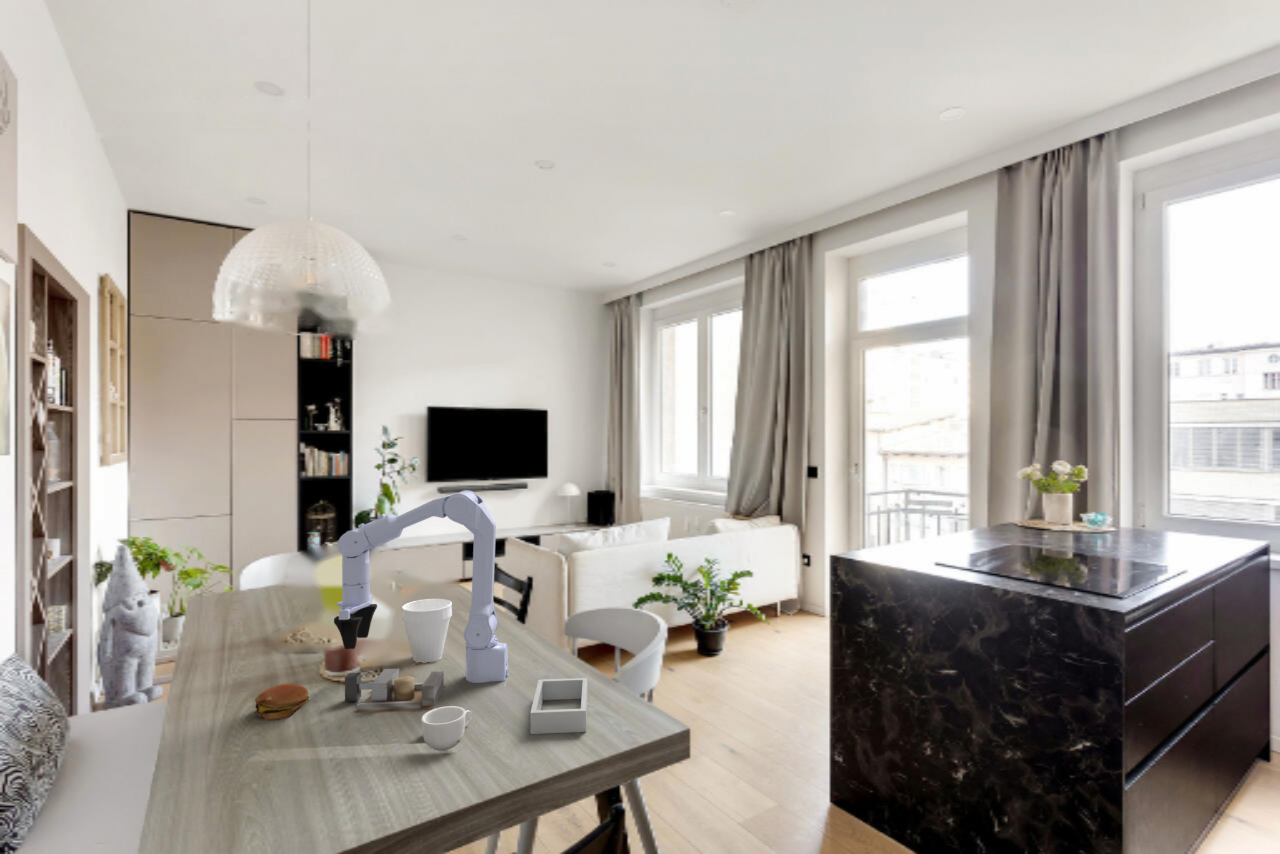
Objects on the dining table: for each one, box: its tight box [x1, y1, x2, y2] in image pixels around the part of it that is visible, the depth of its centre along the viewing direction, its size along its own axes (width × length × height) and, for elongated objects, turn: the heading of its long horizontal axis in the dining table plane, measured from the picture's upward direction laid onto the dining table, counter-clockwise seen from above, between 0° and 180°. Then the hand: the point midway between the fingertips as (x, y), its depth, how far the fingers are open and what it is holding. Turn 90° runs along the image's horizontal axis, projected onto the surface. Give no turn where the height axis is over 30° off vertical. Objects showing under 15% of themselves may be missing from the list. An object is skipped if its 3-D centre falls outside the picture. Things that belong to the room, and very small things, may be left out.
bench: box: [355, 670, 447, 714], centre depth 135 cm, size 15×12×6 cm
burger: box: [254, 683, 310, 721], centre depth 133 cm, size 10×9×5 cm
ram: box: [344, 668, 400, 703], centre depth 134 cm, size 9×8×5 cm
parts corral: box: [529, 677, 589, 735], centre depth 130 cm, size 10×16×4 cm, turn 4°
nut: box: [394, 675, 415, 702], centre depth 135 cm, size 4×4×4 cm
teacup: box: [421, 705, 473, 751], centre depth 119 cm, size 10×8×5 cm
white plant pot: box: [401, 598, 453, 664], centre depth 164 cm, size 12×12×14 cm
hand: (356, 642), depth 145 cm, fingers open, 7 cm apart
